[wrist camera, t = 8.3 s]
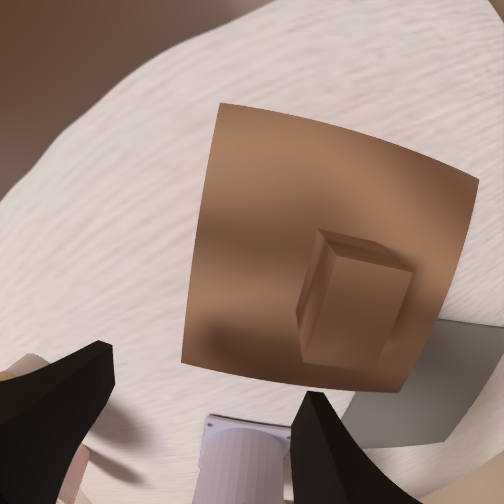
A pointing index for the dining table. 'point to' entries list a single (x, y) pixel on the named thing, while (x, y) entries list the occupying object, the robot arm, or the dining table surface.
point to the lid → (320, 253)
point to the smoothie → (74, 476)
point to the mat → (429, 389)
